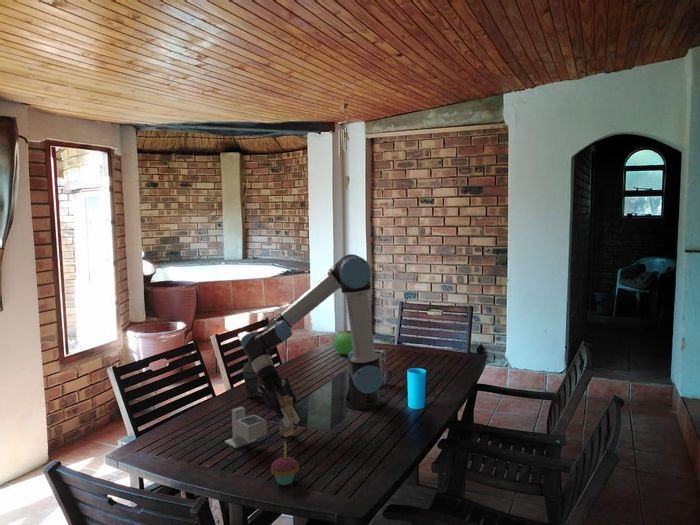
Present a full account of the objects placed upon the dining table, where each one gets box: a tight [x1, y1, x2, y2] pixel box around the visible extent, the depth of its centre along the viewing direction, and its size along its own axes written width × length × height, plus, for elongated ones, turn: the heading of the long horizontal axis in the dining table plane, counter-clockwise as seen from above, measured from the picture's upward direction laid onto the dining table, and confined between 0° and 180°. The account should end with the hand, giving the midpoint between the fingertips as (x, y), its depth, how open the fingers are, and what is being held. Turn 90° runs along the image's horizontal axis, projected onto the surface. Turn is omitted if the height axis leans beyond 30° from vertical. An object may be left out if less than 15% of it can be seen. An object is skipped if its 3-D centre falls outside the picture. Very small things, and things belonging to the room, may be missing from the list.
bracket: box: [224, 406, 268, 450], centre depth 185 cm, size 14×9×12 cm, turn 44°
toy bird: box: [332, 329, 353, 356], centre depth 305 cm, size 18×17×15 cm
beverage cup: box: [241, 358, 259, 399], centre depth 235 cm, size 7×7×20 cm
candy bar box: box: [374, 348, 387, 387], centre depth 252 cm, size 11×5×16 cm, turn 68°
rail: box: [278, 395, 294, 438], centre depth 193 cm, size 4×4×14 cm
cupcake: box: [270, 442, 300, 486], centre depth 160 cm, size 9×8×12 cm
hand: (292, 423), depth 191 cm, fingers closed on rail, 3 cm apart
